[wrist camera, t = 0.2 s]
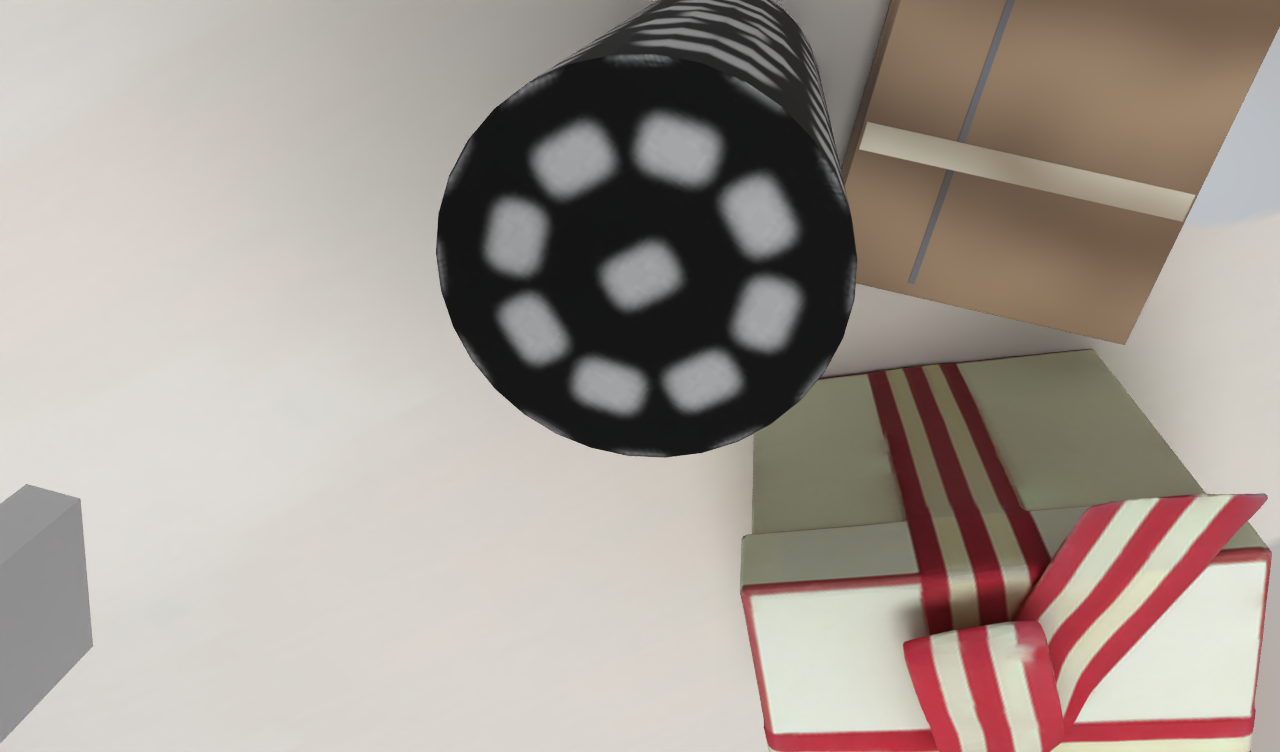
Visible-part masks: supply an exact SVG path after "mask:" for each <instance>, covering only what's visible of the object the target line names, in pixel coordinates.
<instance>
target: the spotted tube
mask: <svg viewBox="0 0 1280 752" xmlns="http://www.w3.org/2000/svg"><path fill="white" fill-rule="evenodd" d="M436 256H437V263H438V271H439V278H440V286H441V292H442V295H443V298H444V300H445V303H446V306H447V309H448V312H449V315H450V318H451V321H452V324H453V327H454V329H455V331H456V332H457V334H458V336H459V338H460V340H461V341H462V343H463V345H464V347H465V349H466V350H467V352H468V354H469V356H470V358H471V359H472V361H473V362H474V363H475V365H476V366H477V367H478V368H479V369H480V371H481V372H482V373H483V374H484V376H485V377H486V378H487V379H488V380H489V382H490V383H491V384H492V385H493V387H494V388H495V389H496V390H497V391H498V392H499V393H501V394H502V395H503V396H504V397H505V398H506V399H507V400H509V401H510V402H511V403H512V404H513V405H514V406H515V407H517V408H518V409H519V410H520V411H521V412H522V413H524V414H525V415H527V416H528V417H530V418H531V419H533V420H535V421H536V422H538V423H540V424H541V425H543V426H545V427H546V428H548V429H550V430H551V431H553V432H554V433H556V434H558V435H561V436H563V437H566V438H568V439H571V440H573V441H576V442H578V443H581V444H583V445H586V446H588V447H591V448H595V449H600V450H604V451H609V452H614V453H618V454H623V455H627V456H647V457H672V456H680V455H688V454H696V453H703V452H706V451H709V450H713V449H716V448H719V447H722V446H725V445H729V444H732V443H735V442H738V441H740V440H742V439H744V438H746V437H748V436H749V435H751V434H753V433H755V432H757V431H759V430H761V429H763V428H765V427H767V426H769V425H770V424H772V423H773V422H774V421H776V420H777V419H778V418H779V417H781V416H782V415H783V414H784V413H786V412H787V411H788V410H789V409H791V408H792V407H793V406H794V405H796V404H797V403H798V402H799V401H800V400H801V399H802V398H803V397H804V396H805V395H806V393H807V392H808V391H809V390H810V389H811V387H812V386H813V385H814V384H815V383H816V381H817V380H818V379H819V378H820V377H821V376H822V374H823V373H824V372H825V370H826V368H827V367H828V365H829V363H830V361H831V359H832V357H833V355H834V354H835V352H836V350H837V348H838V346H839V344H840V343H841V341H842V339H843V336H844V333H845V330H846V326H847V323H848V320H849V316H850V313H851V310H852V306H853V303H854V298H855V285H856V272H857V253H856V245H855V238H854V230H853V223H852V217H851V212H850V208H849V203H848V199H847V195H846V190H845V186H844V181H843V177H842V172H841V168H840V164H839V159H838V155H837V150H836V146H835V142H834V137H833V133H832V128H831V124H830V120H829V115H828V111H827V106H826V102H825V98H824V93H823V89H822V84H821V80H820V76H819V71H818V67H817V64H816V61H815V58H814V55H813V52H812V49H811V47H810V44H809V43H808V41H807V39H806V38H805V36H804V34H803V33H802V31H801V29H800V28H799V26H798V25H797V24H796V23H795V22H794V21H793V19H792V18H791V17H790V16H789V15H788V14H787V13H786V12H785V11H784V10H783V9H782V8H780V7H779V6H778V5H776V4H775V3H773V2H772V1H771V0H658V1H656V2H655V3H653V4H651V5H650V6H648V7H647V8H645V9H644V10H642V11H640V12H639V13H637V14H636V15H634V16H633V17H631V18H629V19H628V20H626V21H625V22H623V23H622V24H620V25H618V26H617V27H615V28H614V29H612V30H611V31H609V32H607V33H606V34H604V35H603V36H601V37H600V38H598V39H596V40H595V41H593V42H592V43H590V44H589V45H587V46H585V47H584V48H582V49H581V50H579V51H578V52H576V53H574V54H573V55H571V56H570V57H568V58H567V59H565V60H563V61H562V62H560V63H559V64H557V65H556V66H554V67H552V68H551V69H549V70H548V71H546V72H545V73H543V74H541V75H540V76H538V77H537V78H535V79H534V80H532V81H530V82H529V83H527V84H526V85H525V86H524V87H522V88H521V89H520V90H518V91H517V92H516V93H514V94H513V95H512V96H510V97H509V98H508V99H507V100H505V101H504V102H503V103H501V104H500V105H499V106H497V107H496V108H495V109H494V110H493V111H492V112H491V113H490V115H489V116H488V117H487V118H486V119H485V121H484V122H483V123H482V124H481V125H480V127H479V128H478V129H477V130H476V131H475V132H474V134H473V135H472V136H471V137H470V138H469V140H468V141H467V143H466V145H465V147H464V149H463V151H462V152H461V154H460V156H459V158H458V160H457V162H456V164H455V166H454V168H453V170H452V172H451V173H450V175H449V178H448V182H447V186H446V189H445V193H444V196H443V200H442V204H441V207H440V211H439V216H438V231H437V246H436Z"/></svg>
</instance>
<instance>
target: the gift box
mask: <svg viewBox="0 0 1280 752" xmlns="http://www.w3.org/2000/svg"><path fill="white" fill-rule="evenodd" d="M1267 499H1268V497H1267V495H1266V494H1220V495H1216V494H1206V493H1205V492H1204V491H1203V489H1202V488H1201V487H1200V485H1199V484H1198V483H1197V481H1196V480H1195V479H1194V478H1193V476H1192V475H1191V474H1190V472H1189V471H1188V470H1187V469H1186V467H1185V466H1184V465H1183V463H1182V462H1181V461H1180V460H1179V458H1178V457H1177V456H1176V454H1175V453H1174V452H1173V451H1172V449H1171V448H1170V447H1169V445H1168V444H1167V443H1166V442H1165V440H1164V439H1163V438H1162V436H1161V435H1160V434H1159V433H1158V431H1157V430H1156V429H1155V428H1154V426H1153V425H1152V424H1151V422H1150V421H1149V420H1148V419H1147V417H1146V416H1145V415H1144V413H1143V412H1142V411H1141V410H1140V408H1139V407H1138V406H1137V404H1136V403H1135V402H1134V401H1133V399H1132V398H1131V397H1130V395H1129V394H1128V393H1127V392H1126V390H1125V389H1124V388H1123V386H1122V385H1121V384H1120V382H1119V381H1118V380H1117V379H1116V377H1115V376H1114V375H1113V374H1112V372H1111V371H1110V370H1109V369H1108V367H1107V366H1106V365H1105V364H1104V363H1103V361H1102V360H1101V359H1100V358H1099V357H1098V355H1097V354H1096V353H1095V351H1094V350H1093V349H1088V350H1077V351H1066V352H1056V353H1047V354H1038V355H1029V356H1019V357H1010V358H1002V359H994V360H983V361H972V362H963V363H948V364H937V365H928V366H920V367H911V368H903V369H895V370H888V371H881V372H874V373H867V374H859V375H851V376H843V377H835V378H827V379H818V380H817V381H816V383H815V384H814V385H813V386H812V387H811V389H810V390H809V391H808V392H807V393H806V395H805V396H804V397H803V398H802V399H801V400H800V401H799V402H798V403H797V404H796V405H794V406H793V407H792V408H791V409H789V410H788V411H787V412H786V413H784V414H783V415H782V416H781V417H779V418H778V419H777V420H776V421H774V422H773V423H772V424H770V425H769V426H767V427H765V428H763V429H761V430H759V431H757V432H755V433H754V450H753V499H752V534H750V535H745V536H744V537H743V538H742V547H741V572H740V595H741V599H742V604H743V608H744V614H745V619H746V625H747V630H748V635H749V641H750V646H751V652H752V657H753V662H754V668H755V673H756V679H757V684H758V689H759V695H760V700H761V706H762V712H763V717H764V730H765V734H766V739H767V744H768V749H769V752H1251V743H1252V734H1253V727H1254V719H1255V707H1254V704H1255V694H1256V687H1257V680H1258V671H1259V662H1260V654H1261V647H1262V639H1263V629H1264V619H1265V608H1266V600H1267V592H1268V584H1269V575H1270V565H1271V556H1272V553H1271V551H1270V549H1269V548H1268V547H1267V545H1266V544H1265V543H1264V542H1263V540H1262V539H1261V538H1260V537H1259V535H1258V534H1257V532H1256V531H1255V530H1254V528H1253V527H1252V526H1251V525H1250V523H1249V522H1248V520H1249V519H1250V518H1251V517H1252V516H1253V515H1254V514H1255V513H1256V512H1257V511H1258V510H1259V509H1260V508H1261V506H1262V505H1263V504H1264V503H1265V501H1266V500H1267Z"/></svg>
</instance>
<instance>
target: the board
mask: <svg viewBox="0 0 1280 752" xmlns="http://www.w3.org/2000/svg"><path fill="white" fill-rule="evenodd" d="M1279 27H1280V0H891V3H890V6H889V10H888V13H887V17H886V20H885V23H884V27H883V30H882V34H881V37H880V40H879V44H878V47H877V50H876V54H875V57H874V61H873V64H872V67H871V71H870V74H869V77H868V81H867V84H866V88H865V91H864V94H863V98H862V101H861V104H860V108H859V111H858V115H857V118H856V121H855V125H854V128H853V132H852V135H851V138H850V142H849V145H848V148H847V152H846V155H845V159H844V162H843V165H842V169H841V172H842V177H843V181H844V186H845V190H846V195H847V199H848V203H849V208H850V212H851V217H852V223H853V230H854V238H855V245H856V253H857V272H856V283H857V284H862V285H866V286H870V287H875V288H879V289H883V290H888V291H892V292H896V293H901V294H905V295H909V296H914V297H918V298H923V299H927V300H931V301H936V302H940V303H944V304H949V305H953V306H957V307H962V308H966V309H970V310H975V311H979V312H983V313H988V314H992V315H996V316H1001V317H1005V318H1010V319H1014V320H1018V321H1023V322H1027V323H1031V324H1036V325H1040V326H1044V327H1049V328H1053V329H1057V330H1062V331H1066V332H1070V333H1075V334H1079V335H1084V336H1088V337H1092V338H1097V339H1101V340H1105V341H1110V342H1114V343H1118V344H1123V345H1125V343H1126V341H1127V339H1128V337H1129V335H1130V333H1131V331H1132V329H1133V327H1134V325H1135V323H1136V321H1137V319H1138V317H1139V315H1140V313H1141V311H1142V309H1143V306H1144V304H1145V302H1146V300H1147V298H1148V296H1149V294H1150V292H1151V290H1152V288H1153V286H1154V284H1155V282H1156V280H1157V278H1158V276H1159V274H1160V272H1161V269H1162V267H1163V265H1164V263H1165V261H1166V259H1167V257H1168V255H1169V253H1170V251H1171V249H1172V247H1173V245H1174V243H1175V241H1176V239H1177V237H1178V235H1179V232H1180V230H1181V228H1182V226H1183V224H1184V222H1185V220H1186V218H1187V216H1188V214H1189V212H1190V210H1191V208H1192V206H1193V204H1194V201H1195V200H1196V198H1197V195H1198V193H1199V191H1200V189H1201V187H1202V185H1203V183H1204V181H1205V179H1206V177H1207V175H1208V173H1209V171H1210V168H1211V166H1212V165H1213V162H1214V161H1215V158H1216V156H1217V154H1218V152H1219V150H1220V148H1221V146H1222V144H1223V142H1224V140H1225V138H1226V136H1227V134H1228V132H1229V130H1230V127H1231V125H1232V123H1233V121H1234V119H1235V117H1236V115H1237V113H1238V111H1239V109H1240V107H1241V105H1242V103H1243V101H1244V99H1245V97H1246V95H1247V93H1248V91H1249V88H1250V86H1251V84H1252V82H1253V80H1254V78H1255V76H1256V74H1257V72H1258V70H1259V68H1260V66H1261V64H1262V62H1263V60H1264V58H1265V56H1266V54H1267V52H1268V49H1269V47H1270V45H1271V43H1272V41H1273V39H1274V37H1275V35H1276V33H1277V31H1278V29H1279Z"/></svg>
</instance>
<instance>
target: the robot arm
mask: <svg viewBox="0 0 1280 752" xmlns="http://www.w3.org/2000/svg"><path fill="white" fill-rule="evenodd" d="M92 646H93V641H92V630H91V618H90V606H89V594H88V583H87V571H86V559H85V547H84V536H83V524H82V512H81V500H80V498H76V497H72V496H69V495H65V494H61V493H57V492H54V491H50V490H46V489H43V488H39V487H35V486H32V485H28V484H26V485H25V486H24V487H22V488H21V489H20V490H18V491H17V492H16V493H14V494H13V495H12V496H10V497H9V498H7V499H6V500H5V501H3V502H2V503H1V504H0V743H1V742H2V741H3V740H4V739H5V738H6V737H7V736H8V735H9V734H10V733H11V732H12V731H13V729H14V728H15V727H16V726H17V725H18V724H19V723H20V722H21V721H22V720H23V719H24V718H25V717H26V716H27V715H28V714H29V713H30V712H31V711H32V710H33V708H34V707H35V706H36V705H37V704H38V703H39V702H40V701H41V700H42V699H43V698H44V697H45V696H46V695H47V694H48V693H49V692H50V691H51V690H52V688H53V687H54V686H55V685H56V684H57V683H58V682H59V681H60V680H61V679H62V678H63V677H64V676H65V675H66V674H67V673H68V672H69V671H70V670H71V668H72V667H73V666H74V665H75V664H76V663H77V662H78V661H79V660H80V659H81V658H82V657H83V656H84V655H85V654H86V653H87V652H88V651H89V650H90V649H91V647H92Z"/></svg>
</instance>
